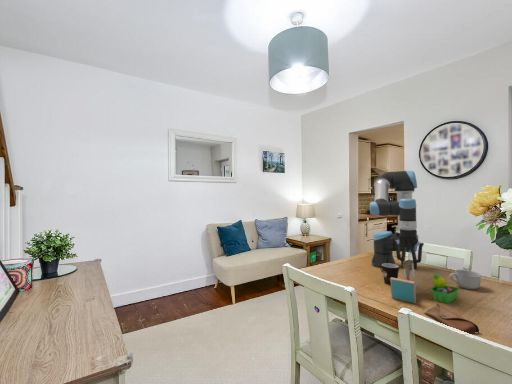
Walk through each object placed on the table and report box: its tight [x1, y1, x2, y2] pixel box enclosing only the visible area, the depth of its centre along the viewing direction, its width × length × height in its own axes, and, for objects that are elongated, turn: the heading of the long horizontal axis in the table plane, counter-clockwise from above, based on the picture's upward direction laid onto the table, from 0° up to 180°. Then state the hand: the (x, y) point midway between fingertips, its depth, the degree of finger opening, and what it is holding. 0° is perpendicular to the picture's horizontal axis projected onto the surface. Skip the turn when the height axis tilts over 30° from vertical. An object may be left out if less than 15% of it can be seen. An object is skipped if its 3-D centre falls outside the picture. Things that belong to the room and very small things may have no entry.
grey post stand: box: [402, 259, 420, 289], centre depth 129 cm, size 16×8×11 cm, turn 137°
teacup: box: [449, 268, 482, 291], centre depth 136 cm, size 14×11×8 cm
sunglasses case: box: [422, 303, 480, 335], centre depth 102 cm, size 18×7×7 cm, turn 8°
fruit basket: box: [430, 273, 459, 304], centre depth 123 cm, size 11×9×11 cm
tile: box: [390, 277, 417, 304], centre depth 122 cm, size 2×10×10 cm, turn 47°
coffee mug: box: [379, 263, 400, 286], centre depth 147 cm, size 12×9×10 cm
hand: (409, 274), depth 132 cm, fingers closed on grey post stand, 3 cm apart
